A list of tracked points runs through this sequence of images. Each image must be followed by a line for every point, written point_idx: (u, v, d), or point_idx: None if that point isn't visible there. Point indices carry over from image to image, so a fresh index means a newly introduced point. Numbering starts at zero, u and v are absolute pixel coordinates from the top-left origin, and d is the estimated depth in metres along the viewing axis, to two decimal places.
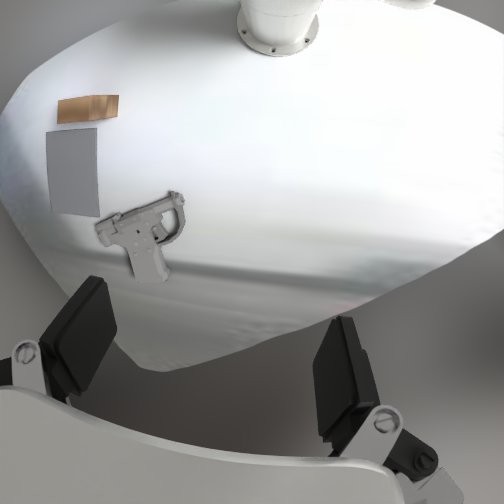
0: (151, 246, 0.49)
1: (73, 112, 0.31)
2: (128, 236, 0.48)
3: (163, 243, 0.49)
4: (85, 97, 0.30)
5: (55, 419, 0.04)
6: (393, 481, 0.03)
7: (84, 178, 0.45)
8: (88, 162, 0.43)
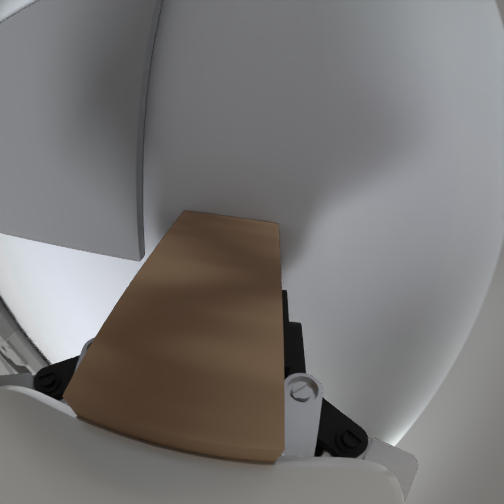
0: None
1: None
2: None
3: None
4: None
5: (55, 419, 0.04)
6: (393, 481, 0.03)
7: (3, 191, 0.11)
8: (36, 216, 0.11)
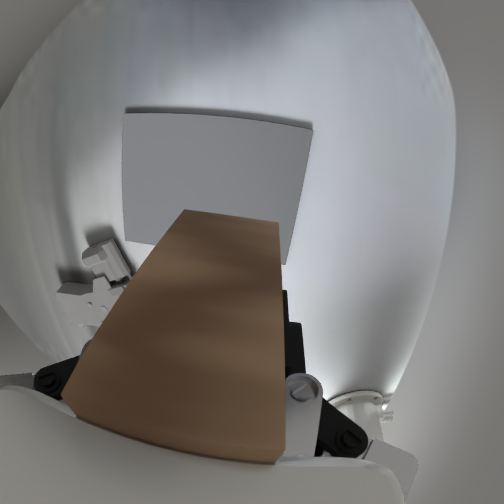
0: None
1: None
2: (110, 301, 0.31)
3: None
4: None
5: (55, 419, 0.04)
6: (393, 481, 0.03)
7: None
8: None
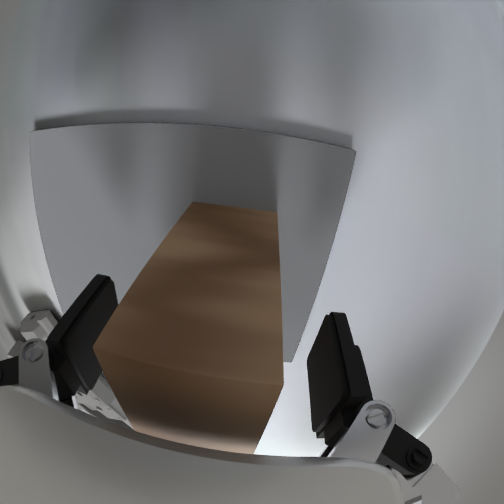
0: None
1: (175, 432, 0.07)
2: None
3: (80, 406, 0.24)
4: None
5: (55, 419, 0.04)
6: (393, 481, 0.03)
7: None
8: None
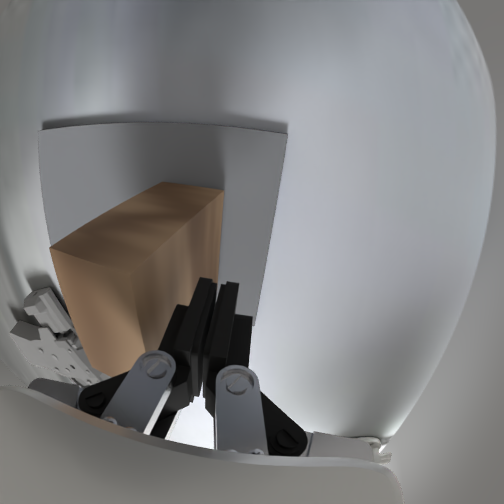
0: (62, 372, 0.26)
1: (96, 333, 0.10)
2: (59, 352, 0.24)
3: (73, 381, 0.27)
4: None
5: (55, 419, 0.04)
6: (393, 481, 0.03)
7: None
8: None
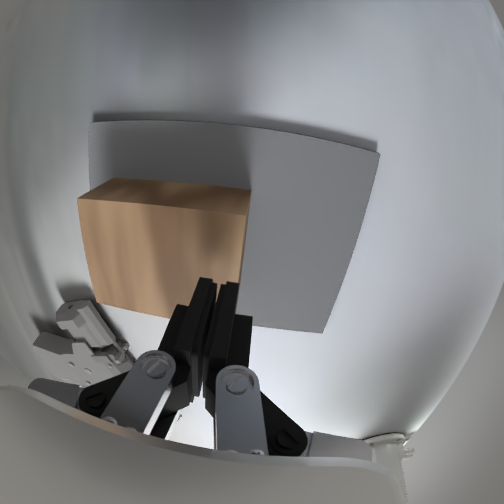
0: None
1: None
2: (94, 366, 0.24)
3: None
4: None
5: (55, 419, 0.04)
6: (393, 481, 0.03)
7: None
8: (240, 308, 0.20)
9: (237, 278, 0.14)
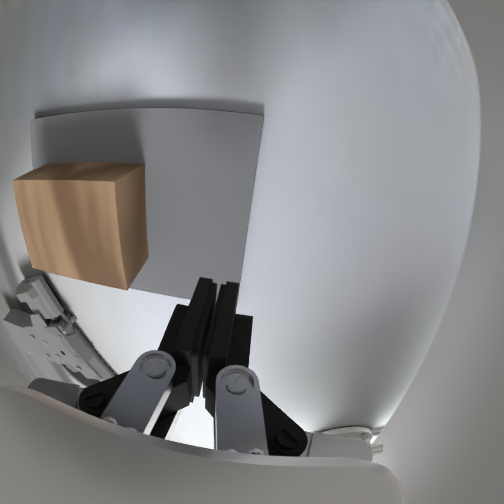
0: (53, 358, 0.26)
1: None
2: (49, 338, 0.24)
3: (64, 368, 0.28)
4: None
5: (55, 419, 0.04)
6: (393, 481, 0.03)
7: None
8: (153, 277, 0.20)
9: (119, 239, 0.14)
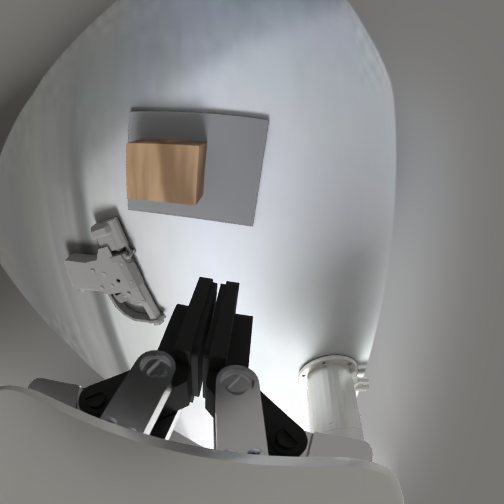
0: (106, 289, 0.42)
1: None
2: (110, 268, 0.39)
3: (112, 299, 0.43)
4: None
5: (55, 419, 0.04)
6: (393, 481, 0.03)
7: None
8: (204, 208, 0.36)
9: (196, 175, 0.29)
